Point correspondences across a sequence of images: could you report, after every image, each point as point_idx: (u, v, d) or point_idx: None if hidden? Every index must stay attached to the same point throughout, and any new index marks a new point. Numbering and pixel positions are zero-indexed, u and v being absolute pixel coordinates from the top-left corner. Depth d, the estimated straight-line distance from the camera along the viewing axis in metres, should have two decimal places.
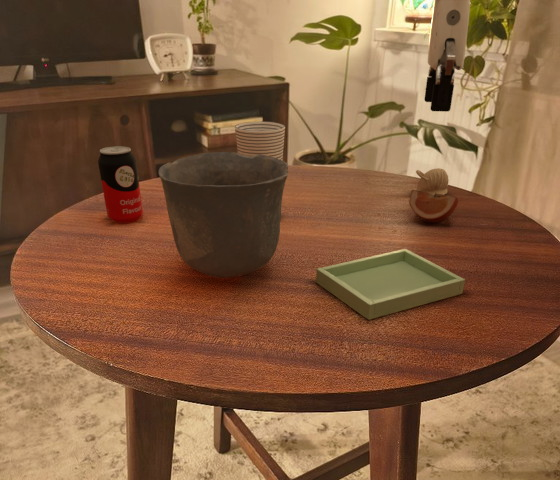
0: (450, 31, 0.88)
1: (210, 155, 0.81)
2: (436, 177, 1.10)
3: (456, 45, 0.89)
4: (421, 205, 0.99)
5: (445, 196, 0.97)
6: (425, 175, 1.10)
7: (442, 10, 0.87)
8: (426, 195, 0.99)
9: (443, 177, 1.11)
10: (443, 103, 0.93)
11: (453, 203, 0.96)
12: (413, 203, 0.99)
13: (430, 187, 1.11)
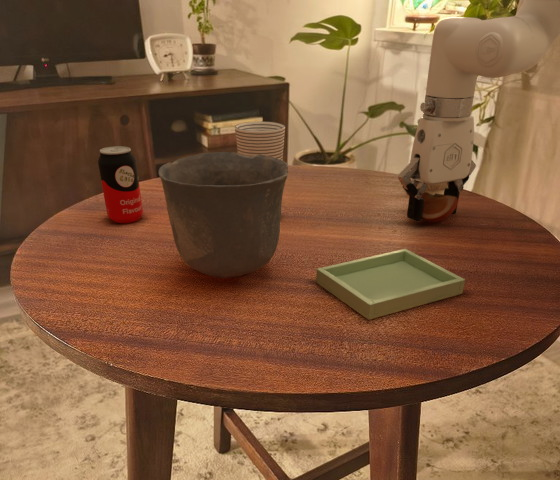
0: (418, 148, 0.92)
1: (210, 155, 0.81)
2: None
3: (419, 165, 0.93)
4: None
5: (445, 196, 0.97)
6: None
7: (417, 128, 0.92)
8: (426, 195, 0.99)
9: None
10: (411, 213, 0.98)
11: (453, 203, 0.96)
12: None
13: (430, 187, 1.11)
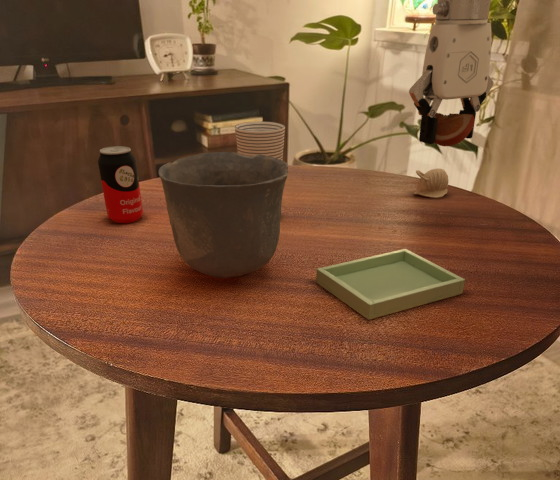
0: (430, 58, 0.84)
1: (210, 155, 0.81)
2: (436, 177, 1.10)
3: (432, 77, 0.85)
4: None
5: (460, 115, 0.89)
6: (425, 175, 1.10)
7: (429, 36, 0.84)
8: (439, 116, 0.91)
9: (443, 177, 1.11)
10: (423, 135, 0.90)
11: (469, 121, 0.88)
12: None
13: (430, 187, 1.11)
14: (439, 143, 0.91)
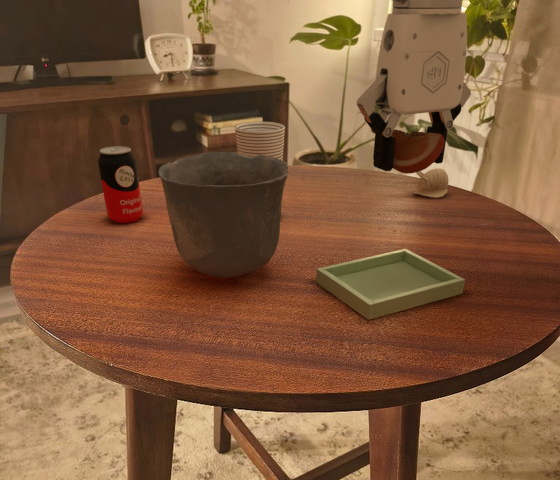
0: (384, 59, 0.63)
1: (210, 155, 0.81)
2: (436, 177, 1.10)
3: (387, 85, 0.64)
4: None
5: (426, 134, 0.68)
6: (425, 175, 1.10)
7: None
8: (400, 134, 0.70)
9: (443, 177, 1.11)
10: (378, 159, 0.69)
11: (436, 143, 0.67)
12: None
13: (430, 187, 1.11)
14: (398, 170, 0.70)
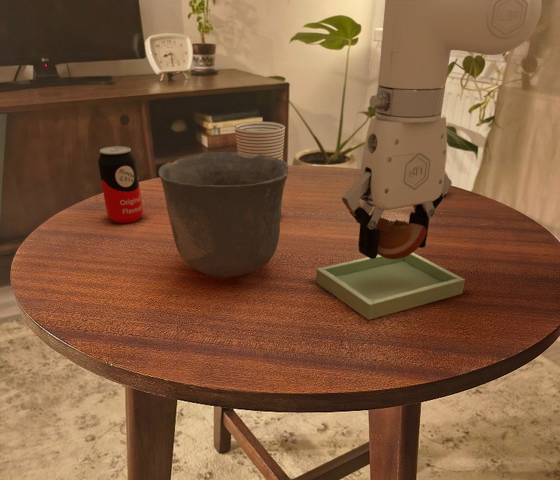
0: (368, 159, 0.66)
1: (210, 155, 0.81)
2: None
3: (371, 183, 0.67)
4: None
5: (409, 224, 0.71)
6: None
7: (367, 132, 0.66)
8: (384, 222, 0.73)
9: None
10: (363, 247, 0.72)
11: (418, 234, 0.70)
12: None
13: None
14: (383, 256, 0.73)
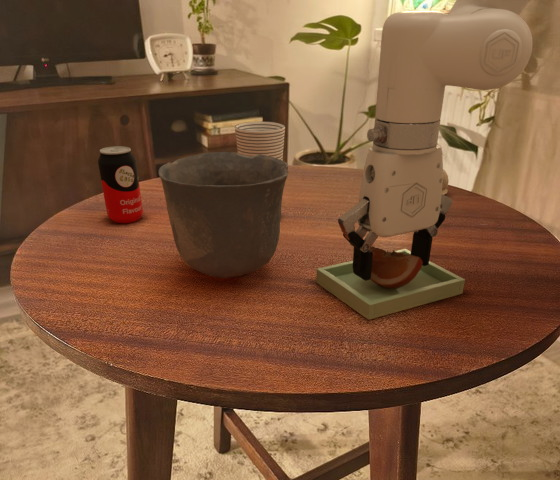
0: (366, 189, 0.68)
1: (210, 155, 0.81)
2: None
3: (370, 207, 0.68)
4: (375, 266, 0.75)
5: (405, 256, 0.73)
6: None
7: (365, 162, 0.68)
8: (381, 253, 0.75)
9: (443, 177, 1.11)
10: (357, 269, 0.73)
11: (415, 265, 0.73)
12: None
13: None
14: None
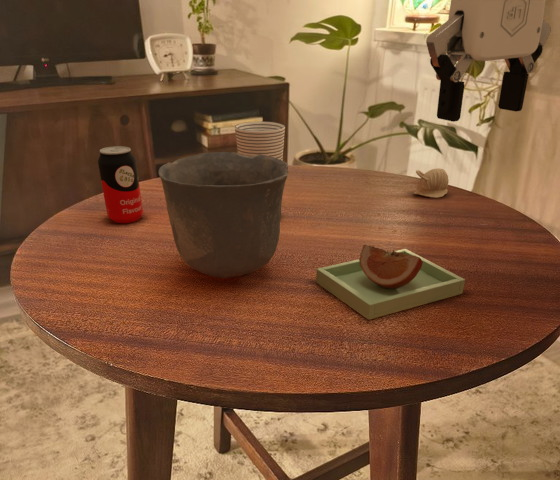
0: (460, 0, 0.58)
1: (210, 155, 0.81)
2: (436, 177, 1.10)
3: (465, 21, 0.58)
4: (375, 266, 0.75)
5: (405, 256, 0.73)
6: (425, 175, 1.10)
7: None
8: (381, 253, 0.75)
9: (443, 177, 1.11)
10: (444, 108, 0.63)
11: (415, 265, 0.73)
12: (364, 263, 0.76)
13: (430, 187, 1.11)
14: None
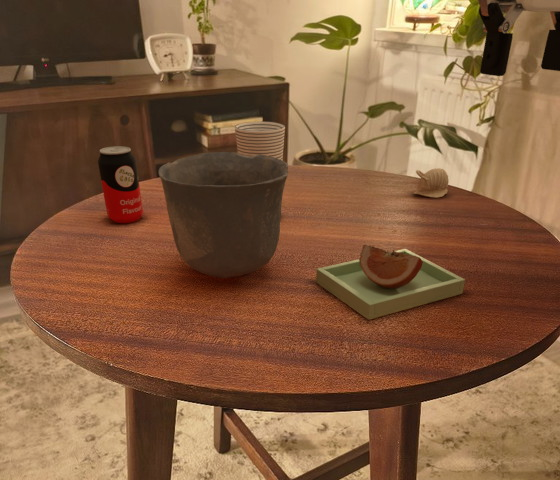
0: None
1: (210, 155, 0.81)
2: (436, 177, 1.10)
3: None
4: (375, 266, 0.75)
5: (405, 256, 0.73)
6: (425, 175, 1.10)
7: None
8: (381, 253, 0.75)
9: (443, 177, 1.11)
10: (489, 62, 0.61)
11: (415, 265, 0.73)
12: (364, 263, 0.76)
13: (430, 187, 1.11)
14: None
